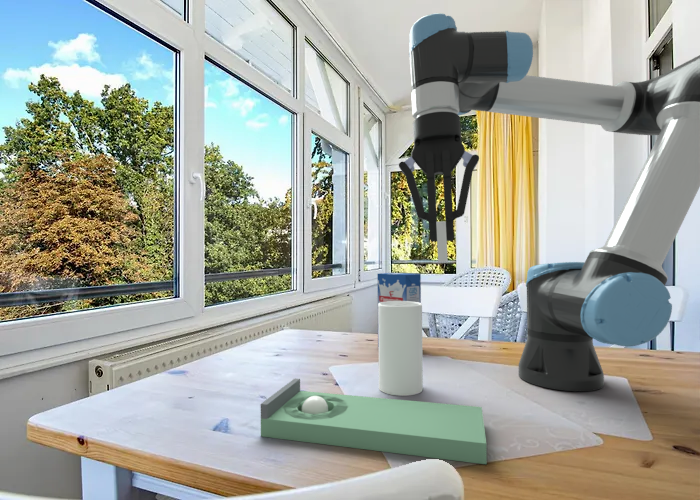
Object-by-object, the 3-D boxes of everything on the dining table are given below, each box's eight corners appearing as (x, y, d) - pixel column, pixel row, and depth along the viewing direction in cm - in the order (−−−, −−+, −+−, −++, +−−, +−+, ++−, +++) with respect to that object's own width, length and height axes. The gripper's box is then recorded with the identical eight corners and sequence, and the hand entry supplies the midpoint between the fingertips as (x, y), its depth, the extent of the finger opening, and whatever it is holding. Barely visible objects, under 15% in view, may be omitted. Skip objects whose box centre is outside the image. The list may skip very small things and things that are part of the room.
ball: (309, 398, 64) (303, 425, 62) (301, 391, 61) (295, 419, 59) (333, 401, 63) (328, 428, 61) (326, 393, 60) (321, 422, 58)
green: (481, 423, 60) (481, 393, 61) (486, 464, 49) (486, 426, 49) (294, 405, 68) (294, 378, 68) (260, 436, 57) (260, 404, 57)
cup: (412, 398, 71) (411, 307, 71) (371, 390, 75) (370, 304, 76) (429, 385, 78) (428, 302, 78) (390, 379, 82) (390, 300, 83)
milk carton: (377, 347, 110) (377, 273, 111) (392, 343, 115) (392, 272, 115) (406, 353, 103) (405, 274, 103) (421, 349, 107) (420, 273, 108)
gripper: (476, 119, 68) (482, 259, 68) (398, 128, 71) (405, 262, 71) (479, 104, 61) (487, 260, 61) (393, 114, 64) (400, 264, 64)
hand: (442, 261), depth 66 cm, fingers closed
